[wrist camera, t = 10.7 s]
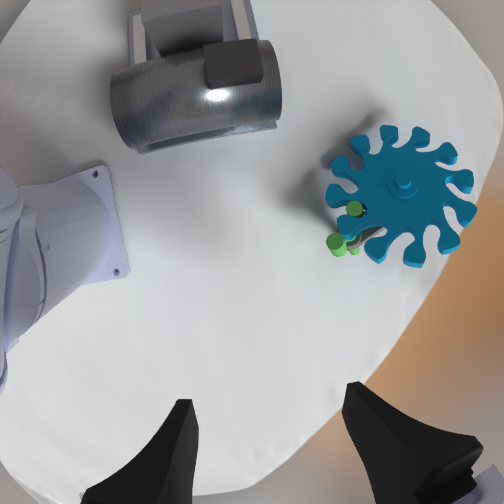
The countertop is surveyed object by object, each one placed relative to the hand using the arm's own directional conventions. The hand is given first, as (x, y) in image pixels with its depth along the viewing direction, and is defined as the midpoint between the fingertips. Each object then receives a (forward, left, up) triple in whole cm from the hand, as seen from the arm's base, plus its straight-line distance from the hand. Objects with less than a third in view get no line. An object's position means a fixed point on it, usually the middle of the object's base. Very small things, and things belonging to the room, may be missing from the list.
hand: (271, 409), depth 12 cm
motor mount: (-1, +19, -9) cm, 21 cm away
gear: (+10, +8, -10) cm, 16 cm away
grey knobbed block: (-1, +21, -9) cm, 23 cm away
